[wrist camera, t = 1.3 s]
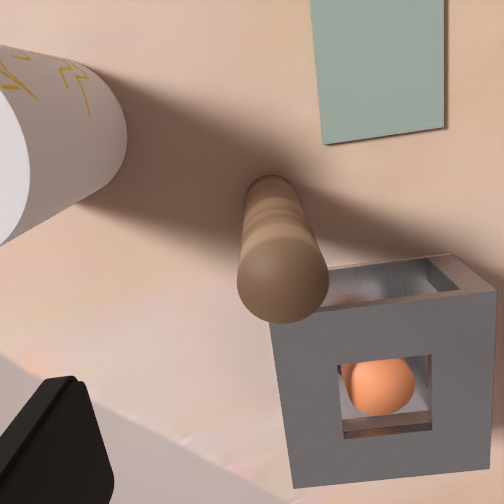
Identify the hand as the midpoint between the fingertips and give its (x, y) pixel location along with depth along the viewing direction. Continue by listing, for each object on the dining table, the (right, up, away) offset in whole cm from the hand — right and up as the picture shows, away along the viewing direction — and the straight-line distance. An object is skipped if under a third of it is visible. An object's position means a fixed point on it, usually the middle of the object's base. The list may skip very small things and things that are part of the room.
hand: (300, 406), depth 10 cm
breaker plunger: (+7, -4, +18) cm, 20 cm away
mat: (+6, +14, +15) cm, 22 cm away
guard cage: (+7, -3, +21) cm, 22 cm away
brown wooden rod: (0, +7, +18) cm, 19 cm away
